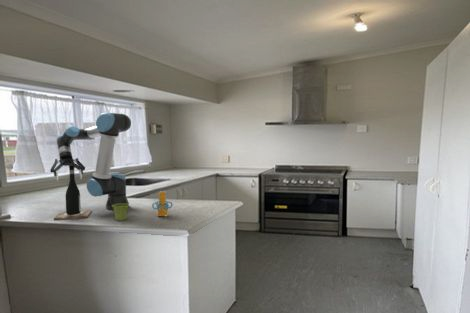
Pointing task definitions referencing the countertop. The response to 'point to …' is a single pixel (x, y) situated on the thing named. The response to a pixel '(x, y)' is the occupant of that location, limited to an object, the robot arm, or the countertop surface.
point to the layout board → (81, 215)
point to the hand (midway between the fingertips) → (69, 179)
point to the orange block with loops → (162, 204)
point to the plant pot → (120, 211)
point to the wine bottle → (72, 195)
